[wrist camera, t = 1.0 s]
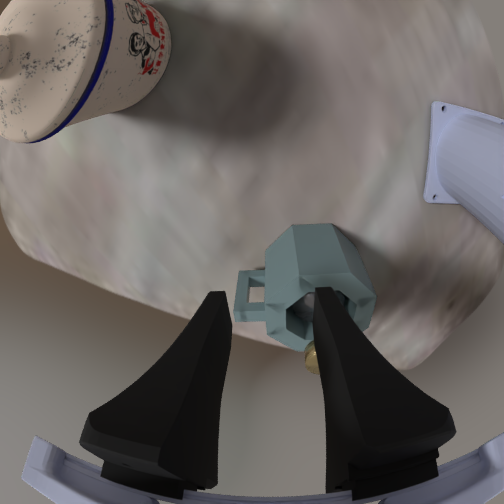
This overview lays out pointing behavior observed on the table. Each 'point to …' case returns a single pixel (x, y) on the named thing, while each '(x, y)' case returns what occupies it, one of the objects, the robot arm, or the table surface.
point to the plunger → (305, 312)
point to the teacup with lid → (75, 62)
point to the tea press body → (305, 282)
